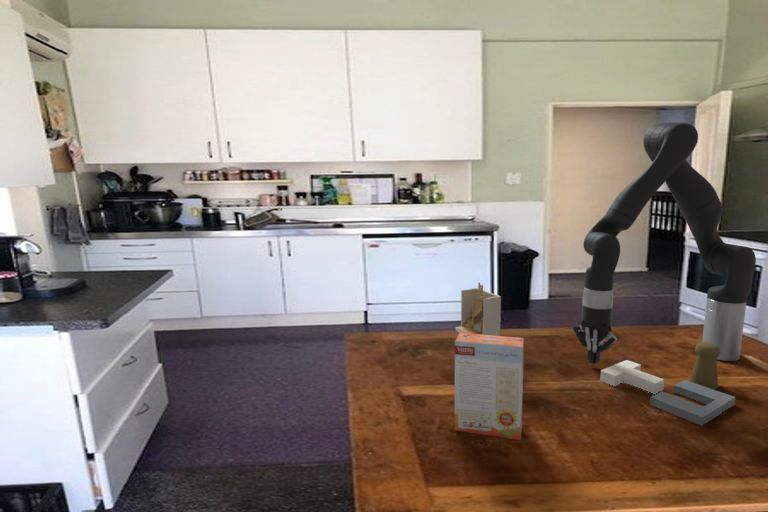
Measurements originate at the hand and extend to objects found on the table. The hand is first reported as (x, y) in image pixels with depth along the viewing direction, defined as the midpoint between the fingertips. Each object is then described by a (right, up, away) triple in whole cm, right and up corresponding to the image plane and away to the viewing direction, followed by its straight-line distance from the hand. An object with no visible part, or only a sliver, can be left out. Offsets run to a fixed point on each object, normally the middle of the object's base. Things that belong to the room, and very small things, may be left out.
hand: (593, 362), depth 128 cm
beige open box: (-31, -2, +5) cm, 32 cm away
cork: (+24, -3, -11) cm, 26 cm away
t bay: (+14, -5, -21) cm, 26 cm away
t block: (+6, -3, -10) cm, 12 cm away
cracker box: (-37, -8, -29) cm, 47 cm away
